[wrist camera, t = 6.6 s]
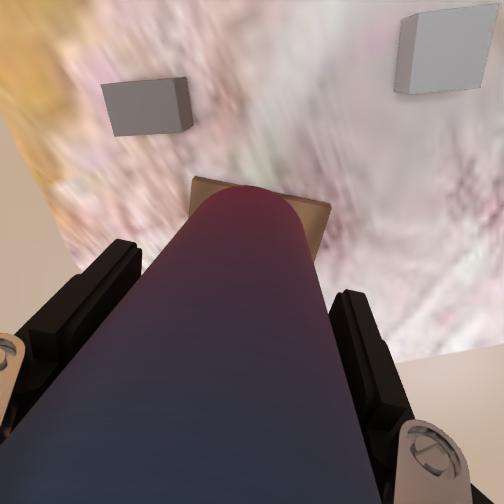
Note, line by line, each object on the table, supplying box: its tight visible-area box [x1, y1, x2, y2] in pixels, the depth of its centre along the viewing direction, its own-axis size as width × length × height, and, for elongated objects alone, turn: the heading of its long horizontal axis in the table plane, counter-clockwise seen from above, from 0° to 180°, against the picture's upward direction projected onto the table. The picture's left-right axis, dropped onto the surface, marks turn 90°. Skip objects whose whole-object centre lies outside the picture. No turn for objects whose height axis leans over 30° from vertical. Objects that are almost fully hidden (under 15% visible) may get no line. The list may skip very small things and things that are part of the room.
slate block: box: [394, 3, 499, 95], centre depth 25 cm, size 5×5×4 cm
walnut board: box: [189, 176, 331, 263], centre depth 36 cm, size 14×14×1 cm
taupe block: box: [101, 77, 193, 137], centre depth 29 cm, size 6×4×4 cm, turn 94°
